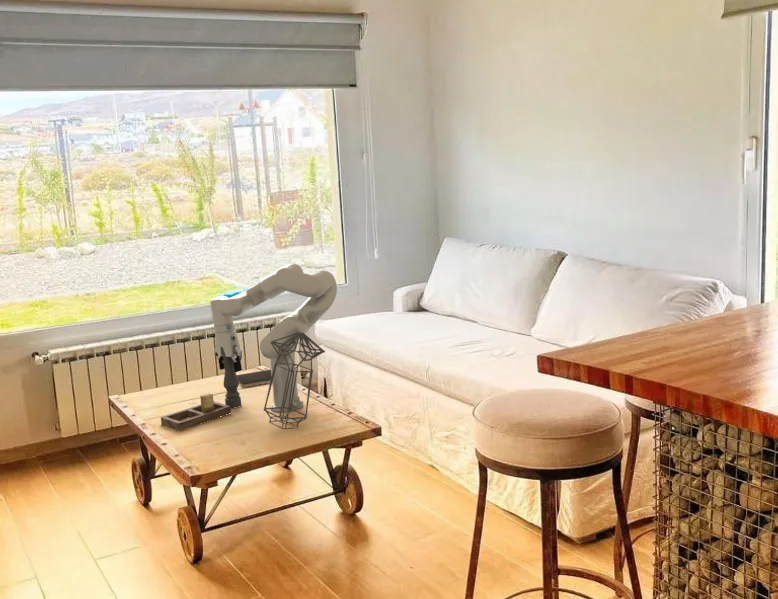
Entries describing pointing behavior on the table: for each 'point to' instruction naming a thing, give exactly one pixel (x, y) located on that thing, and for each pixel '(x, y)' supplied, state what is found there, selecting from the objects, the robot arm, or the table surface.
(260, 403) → the table surface
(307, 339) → the geometric lantern
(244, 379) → the hardcover book
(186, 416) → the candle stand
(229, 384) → the candle holder
